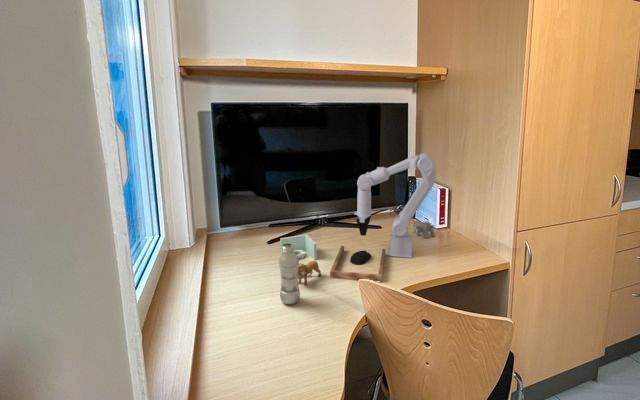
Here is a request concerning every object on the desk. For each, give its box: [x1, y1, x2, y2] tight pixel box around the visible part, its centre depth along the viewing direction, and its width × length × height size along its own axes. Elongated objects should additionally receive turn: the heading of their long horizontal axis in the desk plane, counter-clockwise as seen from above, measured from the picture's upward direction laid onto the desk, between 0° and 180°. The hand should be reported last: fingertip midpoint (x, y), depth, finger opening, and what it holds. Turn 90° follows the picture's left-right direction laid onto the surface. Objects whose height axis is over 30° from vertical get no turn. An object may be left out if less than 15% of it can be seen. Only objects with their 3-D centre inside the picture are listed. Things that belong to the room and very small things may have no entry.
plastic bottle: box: [278, 243, 301, 305], centre depth 114 cm, size 6×7×20 cm
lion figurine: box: [298, 260, 322, 286], centre depth 129 cm, size 15×5×9 cm, turn 151°
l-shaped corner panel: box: [279, 233, 318, 261], centre depth 150 cm, size 12×12×8 cm
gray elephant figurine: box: [413, 220, 436, 239], centre depth 170 cm, size 9×12×8 cm
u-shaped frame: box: [329, 245, 386, 283], centre depth 142 cm, size 19×25×2 cm
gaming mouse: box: [349, 249, 372, 265], centre depth 148 cm, size 6×15×4 cm, turn 145°
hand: (363, 233), depth 153 cm, fingers open, 4 cm apart
